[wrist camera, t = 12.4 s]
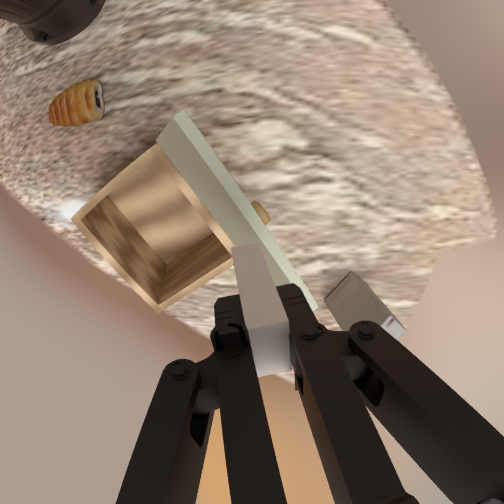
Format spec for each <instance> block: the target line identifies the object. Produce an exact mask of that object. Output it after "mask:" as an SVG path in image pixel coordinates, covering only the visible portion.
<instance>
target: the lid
mask: <svg viewBox="0 0 504 504" xmlns="http://www.w3.org/2000/svg"><path fill="white" fill-rule="evenodd" d="M156 142H157V143H158V144H159V146H160V147H161V148H162V150H163V151H164V152H165V154H166V155H167V156H168V158H169V159H170V161H171V162H172V163H173V165H174V166H175V167H176V169H177V170H178V171H179V173H180V174H181V175H182V177H183V178H184V179H185V181H186V182H187V183H188V185H189V186H190V187H191V189H192V190H193V191H194V193H195V194H196V195H197V197H198V198H199V199H200V201H201V202H202V203H203V204H204V206H205V207H206V208H207V210H208V211H209V212H210V214H211V215H212V216H213V218H214V219H215V220H216V222H217V223H218V224H219V226H220V227H221V228H222V230H223V231H224V232H225V234H226V235H227V236H228V238H229V239H230V240H231V241H232V243H233V244H234V245H235V247H237V246H243V245H248V244H254V243H259V246H260V248H261V251H262V253H263V256H264V258H265V261H266V264H267V266H268V269H269V271H270V274H271V276H272V279H273V281H274V284H276V285H277V286H281V285H286V284H290V283H294V284H296V285H297V286H298V287H300V288H301V290H302V292H303V294H304V296H305V297H306V299H307V302H308V303H309V305H310V307H311V309H312V311H314V310H315V309H316V308H318V307H319V306H318V304H317V303H316V301H315V300H314V298H313V297H312V295H311V294H310V292H309V291H308V289H307V287H306V286H305V284H304V283H303V281H302V280H301V278H300V277H299V275H298V274H297V272H296V271H295V269H294V268H293V266H292V265H291V263H290V262H289V260H288V259H287V257H286V256H285V254H284V253H283V251H282V250H281V248H280V247H279V245H278V244H277V242H276V241H275V239H274V238H273V236H272V235H271V233H270V232H269V230H268V229H267V227H266V226H265V225H266V224H267V223H268V222H269V221H270V220H271V219H270V216H269V214H268V213H267V211H266V210H265V209H264V208H263V207H262V206H261V205H260V204H259V203H258V202H256V201H254V202H252V203H251V204H250V202H249V201H248V199H247V198H246V196H245V195H244V194H243V192H242V191H241V189H240V188H239V186H238V185H237V183H236V182H235V181H234V179H233V178H232V176H231V175H230V173H229V172H228V171H227V169H226V168H225V166H224V165H223V163H222V162H221V161H220V159H219V158H218V156H217V155H216V153H215V152H214V151H213V149H212V148H211V146H210V145H209V144H208V142H207V141H206V139H205V138H204V137H203V135H202V134H201V132H200V131H199V130H198V128H197V127H196V125H195V124H194V123H193V121H192V120H191V118H190V117H189V116H188V114H187V113H186V111H185V110H184V109H183V110H182V111H180V112H179V113H177V114H176V115H174V116H173V117H172V118H171V120H170V121H169V122H168V124H167V125H166V126H165V128H164V129H163V130H162V132H161V133H160V135H159V136H158V137H157V139H156Z"/></svg>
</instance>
